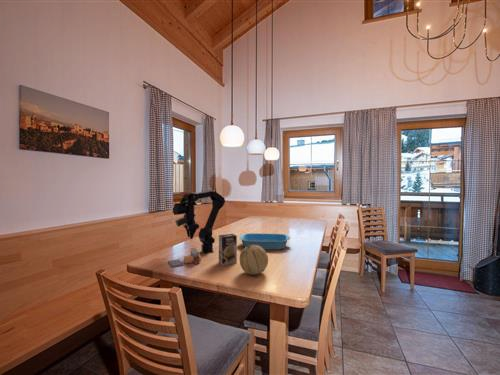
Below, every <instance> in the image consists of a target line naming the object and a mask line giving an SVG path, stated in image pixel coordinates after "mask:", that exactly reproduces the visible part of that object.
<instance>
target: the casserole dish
mask: <svg viewBox="0 0 500 375" xmlns="http://www.w3.org/2000/svg"><path fill="white" fill-rule="evenodd" d="M239 239H240V241H241V243H242V246H243V247H244V248H246V247H248V245H249V246H250V245H258V246H261V247H262V248H263V249H264V250H272V251H275V250H283V249H284V248H285V247H286V246H287V242H288V241H289V240H290V239H291V237H290V236H289V235H287V234H284V233H262V232H261V233H253V232H252V233H250V232H249V233H244V234H243V235H239Z"/></svg>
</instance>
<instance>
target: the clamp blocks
mask: <svg viewBox="0 0 500 375" xmlns="http://www.w3.org/2000/svg"><path fill="white" fill-rule="evenodd" d="M191 255H193V254H192V253H191V252H190V256H191ZM193 264H194V265H199V264H200V261H199V256H198V257H195V256H194V262H193Z"/></svg>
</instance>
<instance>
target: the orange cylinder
mask: <svg viewBox="0 0 500 375" xmlns="http://www.w3.org/2000/svg"><path fill="white" fill-rule="evenodd" d="M201 261H202V258H201V255H200V256H199V262H201ZM193 263H194V255H191V254H190V255H186V256H183V264H184V265H185V264H186V265H187V264H193Z"/></svg>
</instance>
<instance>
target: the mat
mask: <svg viewBox="0 0 500 375" xmlns="http://www.w3.org/2000/svg"><path fill="white" fill-rule="evenodd" d="M168 263H169V265H170V266H171V268H177V267H181V266H184V262H182V261H181V259H180V258H177V259H172V260H168Z"/></svg>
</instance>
